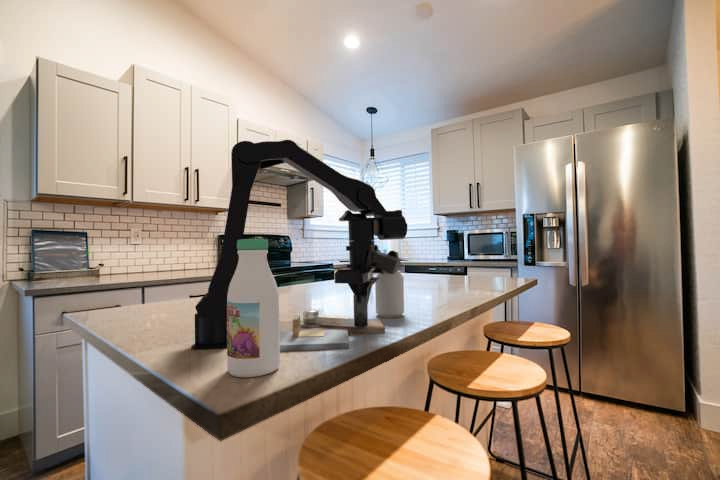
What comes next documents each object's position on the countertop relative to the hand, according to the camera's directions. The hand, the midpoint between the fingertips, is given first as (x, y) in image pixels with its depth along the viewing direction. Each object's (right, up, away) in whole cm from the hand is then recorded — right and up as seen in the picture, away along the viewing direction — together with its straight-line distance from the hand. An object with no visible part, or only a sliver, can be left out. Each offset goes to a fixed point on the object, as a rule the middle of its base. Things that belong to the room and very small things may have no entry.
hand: (364, 309), depth 78 cm
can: (+7, -5, +14) cm, 16 cm away
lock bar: (-6, -3, -2) cm, 7 cm away
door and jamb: (-8, -4, -5) cm, 10 cm away
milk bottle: (-17, -4, -25) cm, 31 cm away
